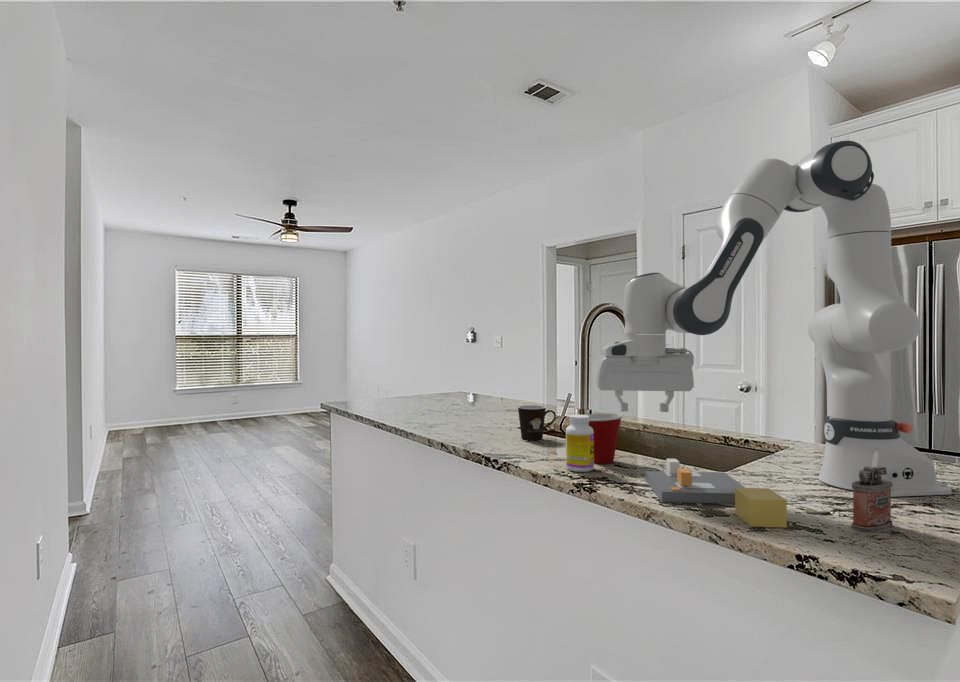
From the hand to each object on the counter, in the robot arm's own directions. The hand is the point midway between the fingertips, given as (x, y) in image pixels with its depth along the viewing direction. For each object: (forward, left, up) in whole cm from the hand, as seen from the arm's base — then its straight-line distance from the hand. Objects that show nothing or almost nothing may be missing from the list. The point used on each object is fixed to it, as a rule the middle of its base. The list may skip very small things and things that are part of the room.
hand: (643, 411), depth 113 cm
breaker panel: (-9, +5, -16) cm, 19 cm away
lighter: (-32, +23, -16) cm, 43 cm away
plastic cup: (+7, -19, -16) cm, 25 cm away
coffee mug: (+23, -45, -16) cm, 53 cm away
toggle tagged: (-6, +9, -13) cm, 17 cm away
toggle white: (-6, 0, -13) cm, 14 cm away
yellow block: (-15, +21, -16) cm, 31 cm away
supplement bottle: (+13, -11, -16) cm, 23 cm away
